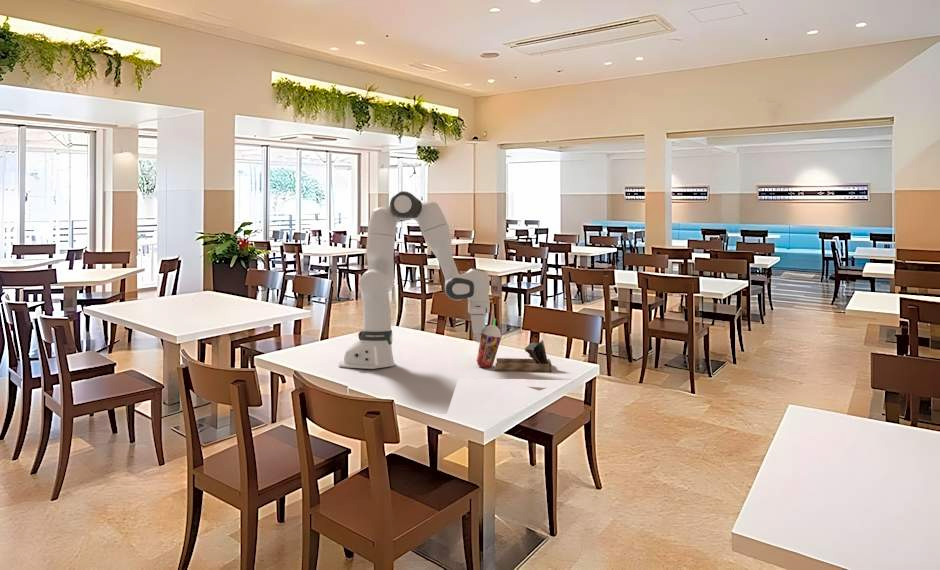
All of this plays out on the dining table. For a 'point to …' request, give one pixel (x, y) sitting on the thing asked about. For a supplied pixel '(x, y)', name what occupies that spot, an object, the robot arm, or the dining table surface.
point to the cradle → (522, 365)
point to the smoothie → (488, 345)
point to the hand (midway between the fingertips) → (478, 342)
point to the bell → (537, 352)
